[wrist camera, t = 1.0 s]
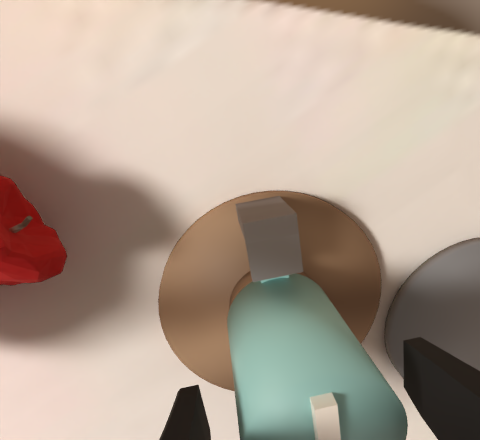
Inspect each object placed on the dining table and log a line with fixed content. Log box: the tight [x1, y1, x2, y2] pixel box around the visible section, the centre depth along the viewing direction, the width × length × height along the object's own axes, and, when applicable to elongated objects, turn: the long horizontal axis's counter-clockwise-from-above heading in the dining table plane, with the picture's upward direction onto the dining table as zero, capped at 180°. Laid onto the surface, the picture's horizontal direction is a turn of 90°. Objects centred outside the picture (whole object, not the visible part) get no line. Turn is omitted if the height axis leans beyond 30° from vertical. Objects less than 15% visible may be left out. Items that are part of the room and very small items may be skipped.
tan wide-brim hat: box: [158, 191, 381, 391], centre depth 15 cm, size 11×11×4 cm
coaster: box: [385, 238, 480, 379], centre depth 18 cm, size 10×10×1 cm
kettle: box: [227, 274, 408, 440], centre depth 12 cm, size 6×5×6 cm
